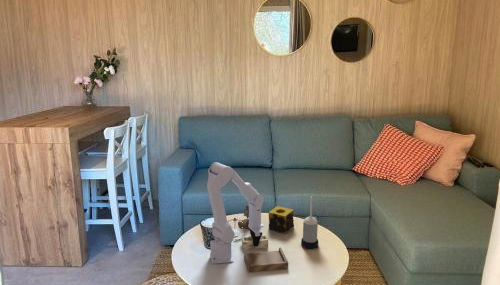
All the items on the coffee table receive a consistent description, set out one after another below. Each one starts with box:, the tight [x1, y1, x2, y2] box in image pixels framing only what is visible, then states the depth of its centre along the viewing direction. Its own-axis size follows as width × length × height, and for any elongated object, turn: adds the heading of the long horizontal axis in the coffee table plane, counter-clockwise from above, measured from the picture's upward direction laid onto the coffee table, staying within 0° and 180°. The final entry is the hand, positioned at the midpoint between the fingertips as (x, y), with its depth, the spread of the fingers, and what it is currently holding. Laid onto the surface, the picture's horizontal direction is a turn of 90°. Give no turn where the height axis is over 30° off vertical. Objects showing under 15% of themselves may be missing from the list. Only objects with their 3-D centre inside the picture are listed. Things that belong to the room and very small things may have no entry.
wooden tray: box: [243, 247, 289, 274], centre depth 166 cm, size 17×13×3 cm
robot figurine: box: [237, 202, 249, 230], centre depth 201 cm, size 11×9×12 cm
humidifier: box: [300, 195, 319, 250], centre depth 178 cm, size 8×8×25 cm
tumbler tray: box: [241, 234, 269, 250], centre depth 180 cm, size 12×5×4 cm, turn 99°
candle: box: [268, 205, 295, 235], centre depth 198 cm, size 10×10×10 cm
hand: (254, 243), depth 180 cm, fingers closed on tumbler tray, 5 cm apart
